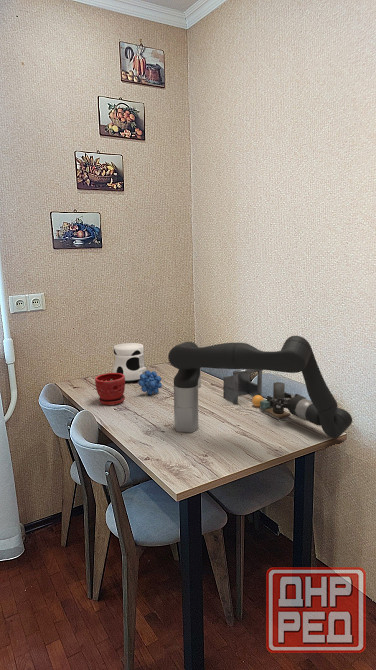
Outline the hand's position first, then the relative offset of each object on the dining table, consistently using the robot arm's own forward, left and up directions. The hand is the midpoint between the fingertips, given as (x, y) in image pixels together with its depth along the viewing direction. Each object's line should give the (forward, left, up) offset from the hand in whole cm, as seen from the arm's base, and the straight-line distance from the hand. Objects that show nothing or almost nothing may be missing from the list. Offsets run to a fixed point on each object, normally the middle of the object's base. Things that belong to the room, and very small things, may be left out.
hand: (275, 396), depth 184 cm
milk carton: (+33, +39, -8) cm, 52 cm away
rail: (0, 0, -8) cm, 8 cm away
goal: (+19, +14, -8) cm, 25 cm away
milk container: (+43, +73, -8) cm, 85 cm away
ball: (+9, +7, -6) cm, 13 cm away
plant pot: (+8, +72, -8) cm, 73 cm away
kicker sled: (0, 0, -7) cm, 7 cm away
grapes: (+19, +56, -8) cm, 60 cm away
